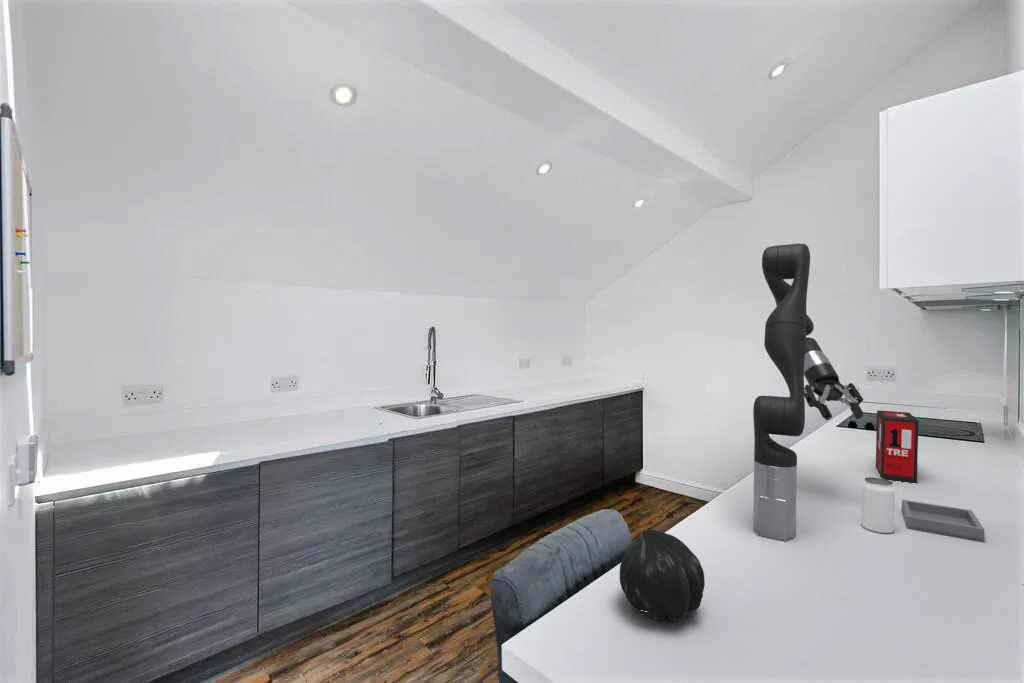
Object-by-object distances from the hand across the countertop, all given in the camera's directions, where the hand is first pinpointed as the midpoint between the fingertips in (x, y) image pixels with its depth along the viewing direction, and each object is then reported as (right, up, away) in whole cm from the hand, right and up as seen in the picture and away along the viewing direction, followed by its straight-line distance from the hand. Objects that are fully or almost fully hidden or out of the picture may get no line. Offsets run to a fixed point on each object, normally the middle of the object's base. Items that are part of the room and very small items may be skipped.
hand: (844, 417), depth 133 cm
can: (+1, -26, -11) cm, 28 cm away
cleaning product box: (+38, -24, +32) cm, 55 cm away
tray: (+18, -26, -9) cm, 32 cm away
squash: (-63, -28, -44) cm, 81 cm away
